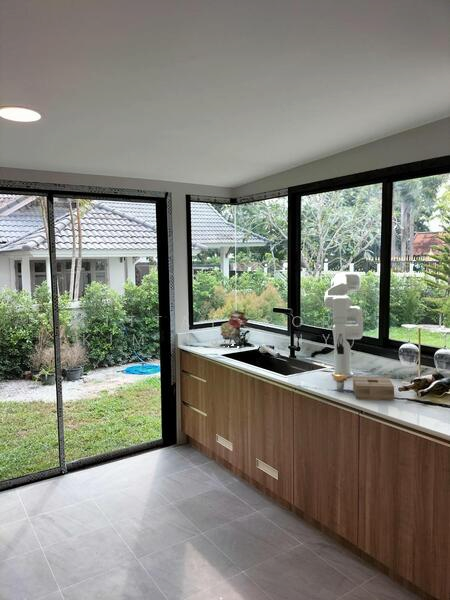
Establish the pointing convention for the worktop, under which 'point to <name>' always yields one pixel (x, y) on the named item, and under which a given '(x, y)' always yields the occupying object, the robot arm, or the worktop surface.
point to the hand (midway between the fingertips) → (340, 352)
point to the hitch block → (373, 388)
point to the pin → (340, 381)
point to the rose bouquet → (235, 329)
